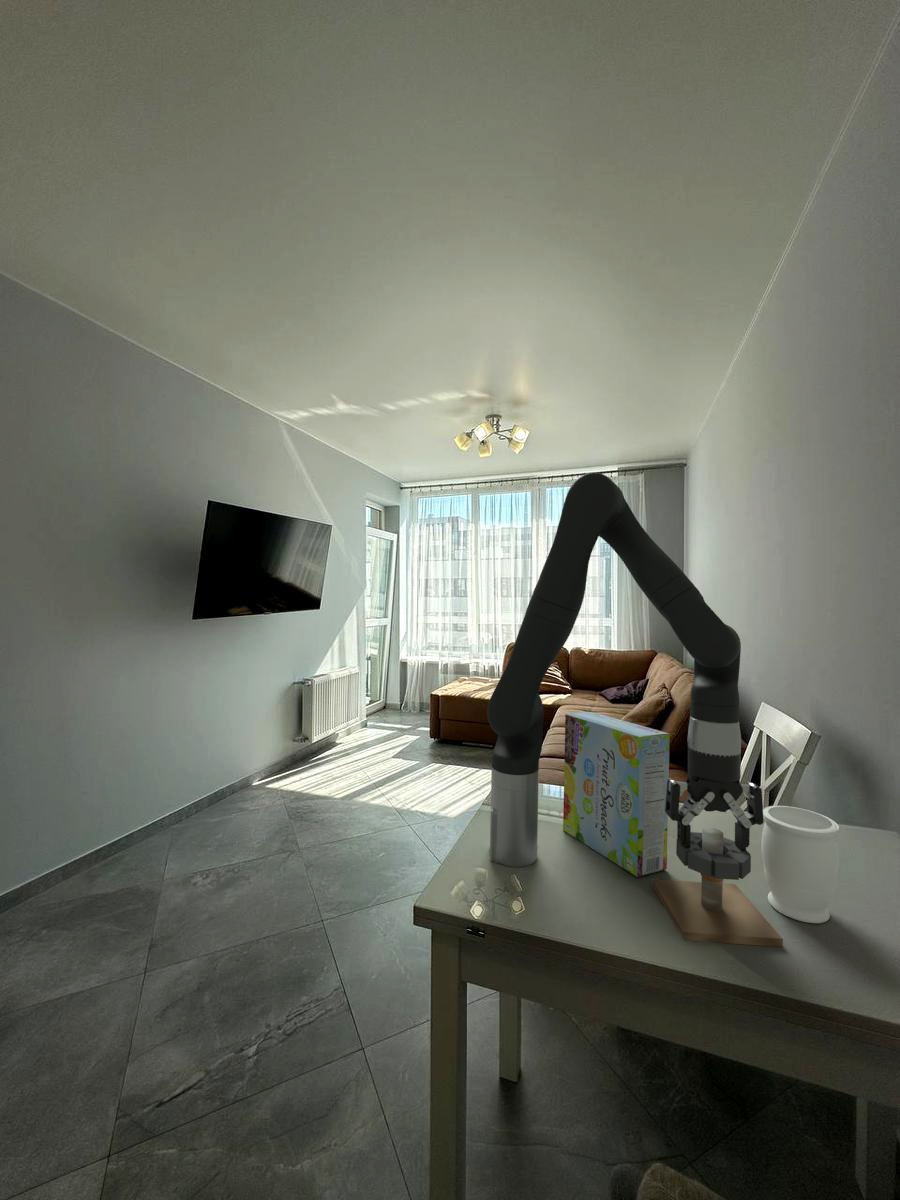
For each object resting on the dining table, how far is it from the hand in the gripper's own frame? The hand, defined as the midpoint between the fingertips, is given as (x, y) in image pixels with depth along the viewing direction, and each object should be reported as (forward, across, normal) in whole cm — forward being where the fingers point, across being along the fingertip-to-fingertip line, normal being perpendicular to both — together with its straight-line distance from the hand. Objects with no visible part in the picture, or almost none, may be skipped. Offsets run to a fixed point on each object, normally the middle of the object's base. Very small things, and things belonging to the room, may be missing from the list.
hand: (712, 847), depth 80 cm
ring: (+2, 0, 0) cm, 2 cm away
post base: (+11, 0, 0) cm, 11 cm away
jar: (+11, +15, +3) cm, 19 cm away
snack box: (+11, -11, +20) cm, 25 cm away
